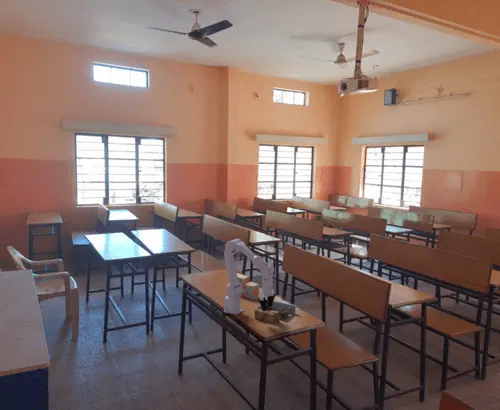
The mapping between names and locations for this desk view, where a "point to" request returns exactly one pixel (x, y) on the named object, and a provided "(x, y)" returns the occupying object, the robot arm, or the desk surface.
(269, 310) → the cup bracket left
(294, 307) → the backboard
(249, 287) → the stack of blocks
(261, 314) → the rail
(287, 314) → the cup bracket right
